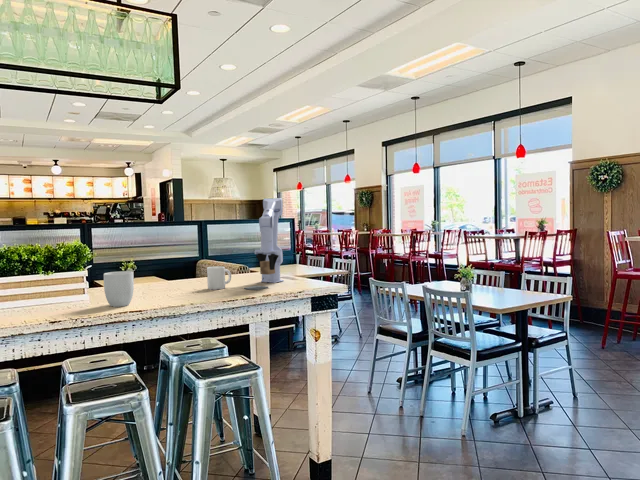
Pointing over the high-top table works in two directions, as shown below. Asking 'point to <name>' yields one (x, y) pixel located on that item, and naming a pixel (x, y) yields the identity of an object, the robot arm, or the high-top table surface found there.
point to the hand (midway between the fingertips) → (267, 269)
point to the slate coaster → (256, 287)
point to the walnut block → (266, 268)
